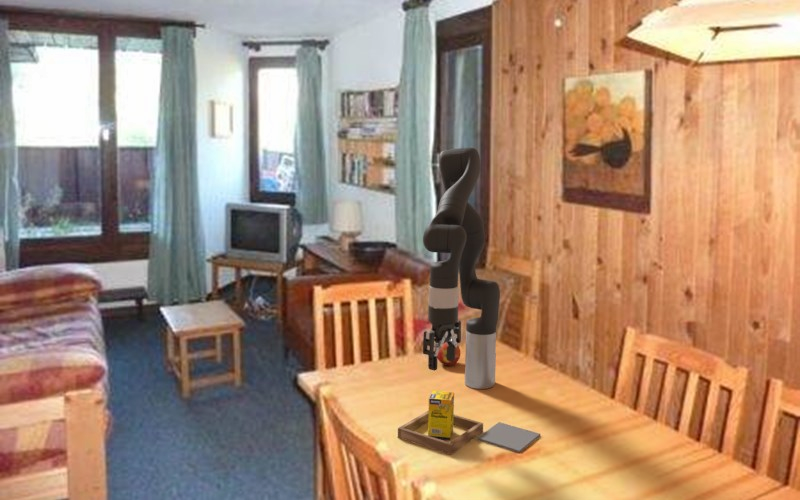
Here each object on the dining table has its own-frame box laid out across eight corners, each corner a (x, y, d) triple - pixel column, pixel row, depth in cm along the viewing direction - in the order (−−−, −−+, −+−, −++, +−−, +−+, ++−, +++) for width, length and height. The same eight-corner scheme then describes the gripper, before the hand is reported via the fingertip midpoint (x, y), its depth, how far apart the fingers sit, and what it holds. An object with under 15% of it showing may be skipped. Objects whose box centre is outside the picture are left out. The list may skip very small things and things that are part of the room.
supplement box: (450, 440, 175) (451, 400, 173) (427, 438, 176) (428, 398, 174) (453, 431, 180) (454, 391, 178) (431, 429, 181) (431, 389, 180)
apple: (435, 367, 229) (435, 344, 227) (438, 359, 237) (438, 337, 236) (459, 369, 227) (459, 346, 226) (461, 361, 236) (461, 338, 234)
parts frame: (432, 417, 189) (432, 408, 189) (483, 432, 180) (483, 423, 179) (397, 437, 176) (397, 428, 176) (450, 454, 167) (450, 445, 167)
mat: (499, 424, 185) (499, 422, 185) (540, 435, 178) (540, 433, 178) (476, 439, 175) (476, 437, 175) (519, 452, 168) (519, 450, 168)
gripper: (445, 296, 180) (444, 355, 183) (414, 306, 169) (413, 369, 171) (470, 300, 176) (468, 361, 178) (440, 311, 164) (439, 376, 167)
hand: (442, 365), depth 175 cm, fingers open, 8 cm apart
